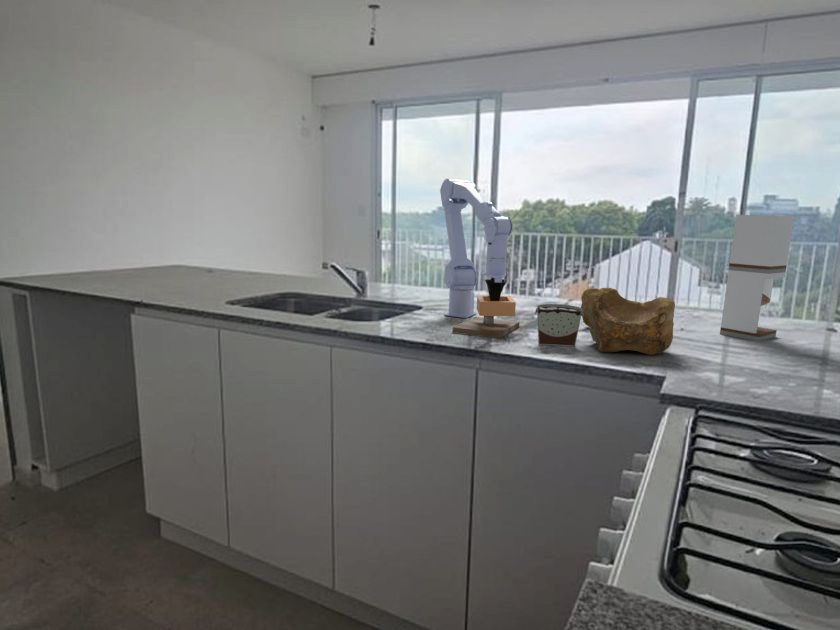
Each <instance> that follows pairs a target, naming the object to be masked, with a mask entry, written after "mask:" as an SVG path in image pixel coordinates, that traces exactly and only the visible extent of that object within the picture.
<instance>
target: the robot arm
mask: <svg viewBox="0 0 840 630" xmlns="http://www.w3.org/2000/svg"><path fill="white" fill-rule="evenodd" d="M439 192H440V193H439V194H440V201H441V205H442V207H443V209H444V217H445V223H446V225H445V226H446V233H447V238H448V244H449V245H448V246H449V253H450V260H449V262H447V264H445V266H444V284H445V285H446V287H447V289H449V292H448V293H449V294H448V295H449V299H448V312H446V313H443V316H445V317H455V318H463V319H467V318H471V317H473V316H474V315H476V314H477V312H474V311H475V310H474V309H475V293H474V291H473V290H474V289H475V287H476V285H477V284H478V279H479V276H478V275H479V274H478V272H477V270H476V267H475V263H474V262H473V261H471V260H470V259H469V258H468V253H467V248H466V241H465V233H464V225H463V217H462V210H463V209H466V208H467V207H468V205H470V206H471V207H472V208H473V209H474V214H475V216H476V218H477V220H479V221H480V223H481V224H482V225H483V231H484V233H485V241H486V243H487V246H486V249H487V250H486V264H485V265H486V267H485V268H486V269H485V271H482V272H481V275H482V276H486V277H489V278H490V279H484V281H485V283H486V286H487V289H488V296H490V301H499V300H500V296H502V292H503V290H504V287H505V286H506V283H507V282H506V281H505V279H503V278H505V277H506V276H507V271H506V269H507V258H508V257H507V254H508V239H509V238H508V237H509V236H510V235H511V233H512V231H513V221H512V220H511V217H510V216H507V215H506V216H504V215H502V214H501V212H500V211H498V210H497V209H496V208H495V206H494V203H492V202H491V201H484V199H483V198H482V197H481V195H480V194H479V192H478V190H477V185H476V183H474V181H472V180H470V179H466V180H465V179H451V178H445V179H444V180H443V182H442V183H441V186H440V189H439Z"/></svg>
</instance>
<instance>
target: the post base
mask: <svg viewBox="0 0 840 630" xmlns="http://www.w3.org/2000/svg"><path fill="white" fill-rule="evenodd" d="M520 322H521V321H517V320H509V319H508V320H507V319H499V318H495V316H475V317H472V318H470V319H467V320H465V321H463V322H461V323H459V324H457V325H455V326H452V333H454V334H455V333H456V334H462V335H470V336H471V335H472V336H478V337H484V338H485V337H486V338H493V339H502V338H503V337H505V336H507V335H508V334H510V333H511V332H513V331H515V330H516V329H518V328H520Z"/></svg>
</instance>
